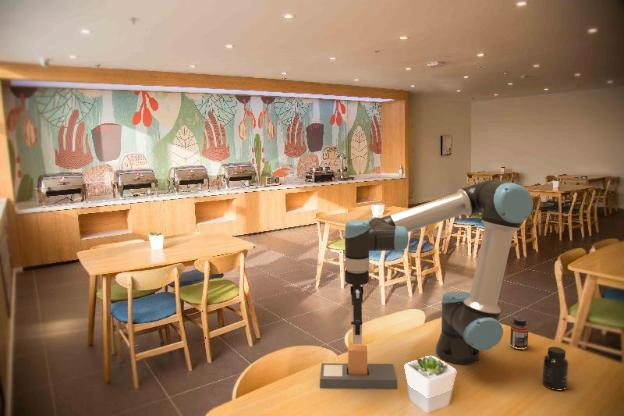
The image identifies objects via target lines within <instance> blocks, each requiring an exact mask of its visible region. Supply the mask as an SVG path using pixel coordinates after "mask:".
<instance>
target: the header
mask: <svg viewBox="0 0 624 416" xmlns="http://www.w3.org/2000/svg"><path fill="white" fill-rule="evenodd" d="M394 366H395V365H394V363H367V375H348V362H347V363H343V362H341V363H335V362H331V363H329V362H325V363H324V362H322V363H321V365H320V377H319V384H320V385H319V389H354V390H355V389H359V390H360V389H364V390H365V389H367V390H371V389H372V390H373V389H374V390H375V389H376V390H397V389H398V379H397V374H396V369H395V367H394Z"/></svg>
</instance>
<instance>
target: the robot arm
mask: <svg viewBox="0 0 624 416" xmlns="http://www.w3.org/2000/svg"><path fill="white" fill-rule="evenodd" d="M533 207H534V201H533V197H532V195H531V193H530V191H529V190H528V189H527V188H526V187H524V186H523V185H519V184H517V183H514V182H507V181H501V180H498V179H497V180H496V179H488V180H483V181H480V182H477V183H475V184H471V185H469V186H465V187H463V188H459V189H458V190H457V192H456V193H453V194H450V195H447V196H444V197H441V198H438V199H436V200H432V201H429V202H426V203H422V204H419V205H417V206H414V207H411V208H407V209H404V210H401V211H398V212H395V213H392V214H390V215H389V214H388V215H386V216H385V215H384V216H382V217H377V216H375V217H371V218H369V219H368V220H363V219H353V220H348V221H347V222H346V223H345V230H344V259H343V260H342V262H343V263H344V269H345V270H344V281H345V283H346V284H348V285H350V287H349V291H350V295H351V305H352V306H351V321H350V325H351V326H352V344H353V345H362V344H363V299H364V297H363V295H364V286H363V285H366V284H368V283H369V282H370V271H369V269H370V252H381V251H382V252H384V251H386V252H388V251H393V252H394V251H395V252H397V251H403V250H406V249H407V247H408V246H409V233H410V232H413V231H416V230H419V229H422V228H425V227H429V226H432V225H435V224H437V223H440V222H444V221H447V220H450V219H453V218H457V217H459V216H462V215H465V216H467V217H468V216H473V215H475V214H477V215H478V214H481V215H482V216H481V223H482V224H483V226H484V231H483V236H482V240H481V243H480V247H479V253H478V256H477V257H478V258H477V261H476V266H475V271H474V274H473V278H472V279H473V280H472V285H471V289H470V292H467V291H449V292H446V293H444V294H443V295H442V300H441V331H440V335H439V338H438V340H437V343H436V345H435V347H436V348H435V354H436V355H437V357H439V359H442V360H444V361H445V362H448V363H451V362H452V364H456V363H458V364H457V365H468V364H467V363H471V364H473V363H472V362H474V363H476V362H478V361H479V360H480V358H479V357H480V355H481V351H486V350H490V349H493V347H496V346H497V345H498V344H499V343H500V341H501V340H502V339H503V336H504V328H503V326H502V324H501V322H500V321H499V320H500V316H501V312H502V310H501V308H500V307H499V305H498V302H499V298H500V293H501V288H502V285H503V280H504V275H505V271H506V268H507V262H508V258H509V254H510V250H511V245H512V240H513V237H514V233H515V232H516V231H518V230H520V229H521V226H522V225H521V224H522V223H523V222H524V221H525V220H526V219H527V218H529V217H530V215H531V214H532V211H533ZM478 359H479V360H478ZM477 360H478V361H477ZM475 361H476V362H475ZM459 363H460V364H459Z"/></svg>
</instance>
